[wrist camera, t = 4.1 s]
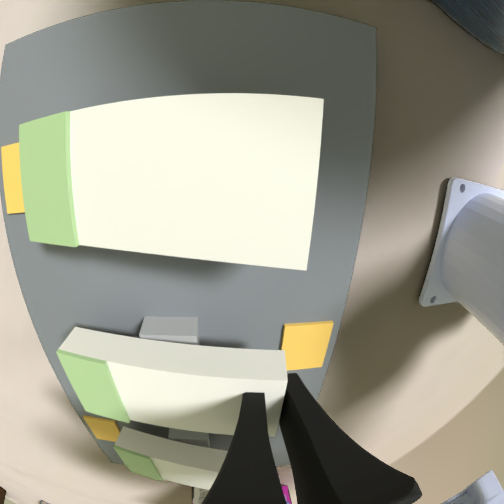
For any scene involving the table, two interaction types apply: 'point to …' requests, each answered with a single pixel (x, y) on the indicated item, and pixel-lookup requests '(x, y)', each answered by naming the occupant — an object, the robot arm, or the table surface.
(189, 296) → the switch unit
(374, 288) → the table surface
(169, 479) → the rocker
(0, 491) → the olive oil
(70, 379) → the block
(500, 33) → the planter
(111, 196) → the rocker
